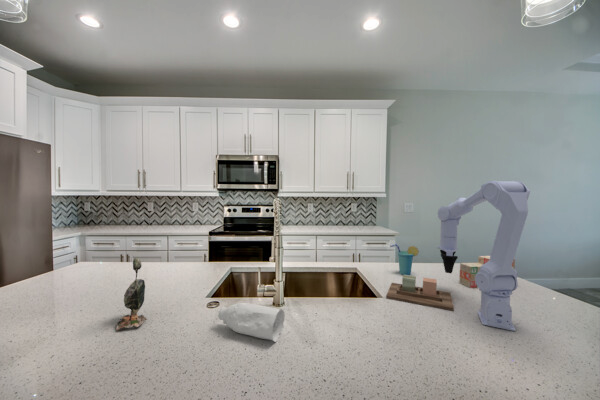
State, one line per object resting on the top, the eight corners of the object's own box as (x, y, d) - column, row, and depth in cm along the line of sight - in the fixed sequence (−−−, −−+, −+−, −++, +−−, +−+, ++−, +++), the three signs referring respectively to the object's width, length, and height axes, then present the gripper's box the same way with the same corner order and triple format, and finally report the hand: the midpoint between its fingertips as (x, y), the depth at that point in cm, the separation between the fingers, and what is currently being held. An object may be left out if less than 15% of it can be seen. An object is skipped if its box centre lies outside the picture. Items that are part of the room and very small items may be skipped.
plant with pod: (154, 312, 82) (154, 251, 82) (138, 331, 71) (137, 260, 70) (127, 314, 81) (126, 252, 80) (106, 333, 69) (105, 261, 69)
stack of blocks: (470, 288, 107) (470, 259, 107) (459, 283, 113) (459, 256, 113) (514, 286, 110) (515, 258, 110) (501, 281, 116) (501, 255, 116)
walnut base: (453, 311, 86) (454, 290, 85) (386, 298, 96) (386, 279, 95) (450, 294, 100) (450, 277, 100) (391, 284, 110) (392, 269, 110)
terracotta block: (436, 299, 93) (436, 283, 93) (422, 296, 95) (423, 280, 95) (436, 294, 97) (436, 279, 97) (423, 292, 99) (423, 277, 99)
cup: (393, 276, 121) (393, 245, 121) (386, 271, 129) (387, 242, 128) (421, 276, 122) (421, 245, 122) (412, 271, 130) (413, 242, 129)
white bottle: (230, 320, 78) (230, 294, 78) (285, 332, 71) (285, 304, 71) (212, 333, 71) (212, 305, 70) (272, 348, 64) (273, 317, 64)
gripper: (436, 233, 109) (436, 264, 109) (437, 238, 96) (436, 273, 96) (455, 234, 106) (455, 266, 106) (459, 240, 93) (458, 276, 93)
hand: (447, 270), depth 101 cm, fingers open, 7 cm apart
